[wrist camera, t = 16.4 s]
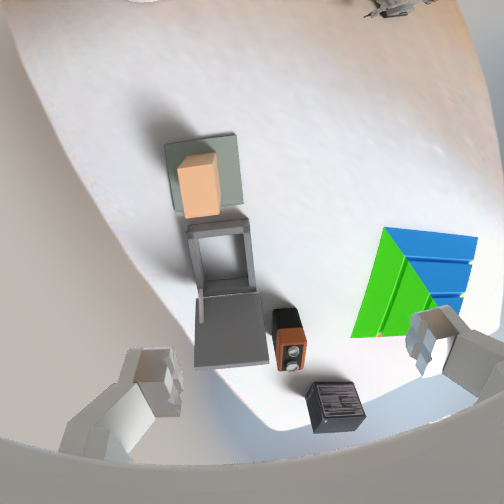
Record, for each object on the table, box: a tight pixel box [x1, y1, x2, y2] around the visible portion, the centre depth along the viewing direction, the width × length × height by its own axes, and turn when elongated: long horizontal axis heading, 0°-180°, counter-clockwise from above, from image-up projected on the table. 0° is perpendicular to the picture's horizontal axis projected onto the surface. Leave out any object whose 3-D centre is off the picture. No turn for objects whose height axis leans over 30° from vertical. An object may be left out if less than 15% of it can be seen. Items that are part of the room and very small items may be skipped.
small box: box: [305, 382, 366, 434], centre depth 63 cm, size 11×6×10 cm, turn 78°
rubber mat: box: [164, 135, 244, 212], centre depth 44 cm, size 10×10×1 cm
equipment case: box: [186, 218, 269, 370], centre depth 44 cm, size 15×10×15 cm, turn 5°
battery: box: [272, 308, 307, 373], centre depth 52 cm, size 4×7×10 cm, turn 0°
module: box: [177, 152, 221, 219], centre depth 39 cm, size 6×4×9 cm, turn 5°
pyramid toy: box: [350, 227, 478, 338], centre depth 50 cm, size 25×25×14 cm
